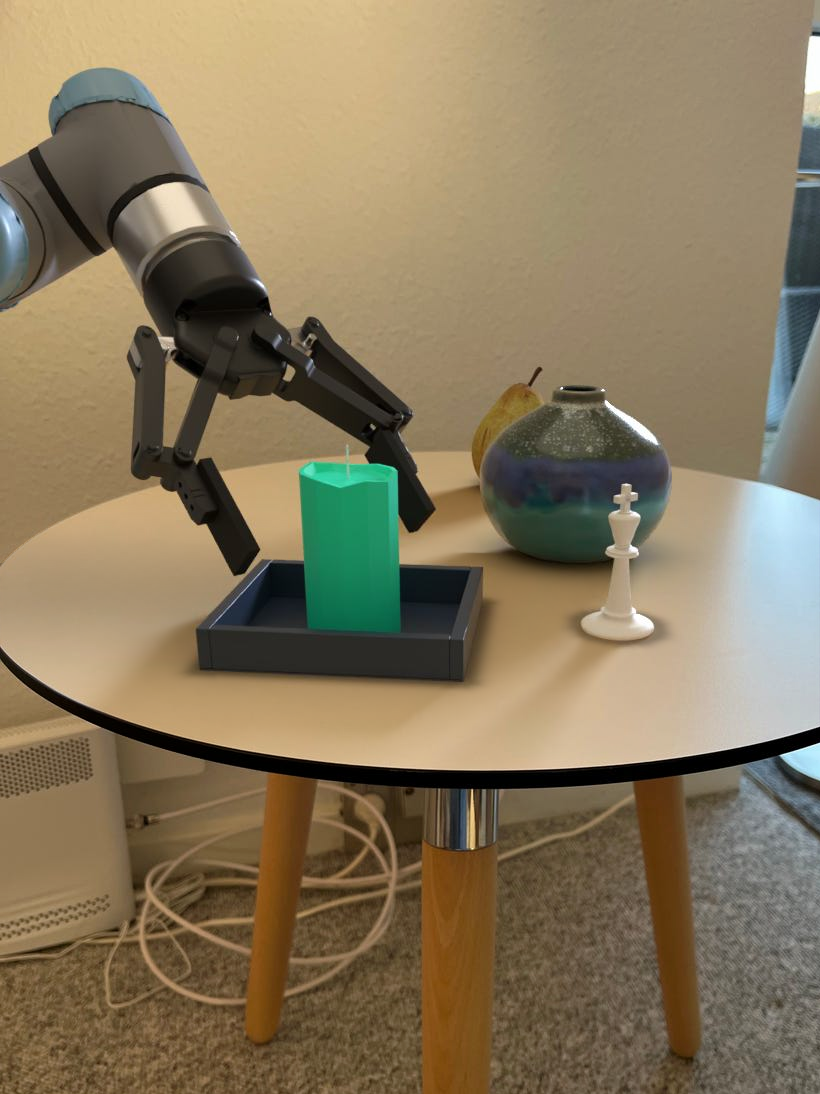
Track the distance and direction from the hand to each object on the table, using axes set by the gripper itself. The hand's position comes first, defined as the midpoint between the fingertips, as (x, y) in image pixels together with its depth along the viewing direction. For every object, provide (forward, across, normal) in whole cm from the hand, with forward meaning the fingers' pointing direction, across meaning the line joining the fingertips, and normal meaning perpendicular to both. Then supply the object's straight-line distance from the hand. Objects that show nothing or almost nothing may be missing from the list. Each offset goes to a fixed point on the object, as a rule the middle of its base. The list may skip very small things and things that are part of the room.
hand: (341, 541), depth 63 cm
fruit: (-11, -39, -20) cm, 45 cm away
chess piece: (+13, -14, +3) cm, 19 cm away
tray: (+5, 0, -4) cm, 7 cm away
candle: (+5, 0, -4) cm, 6 cm away
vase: (+3, -25, -6) cm, 26 cm away
